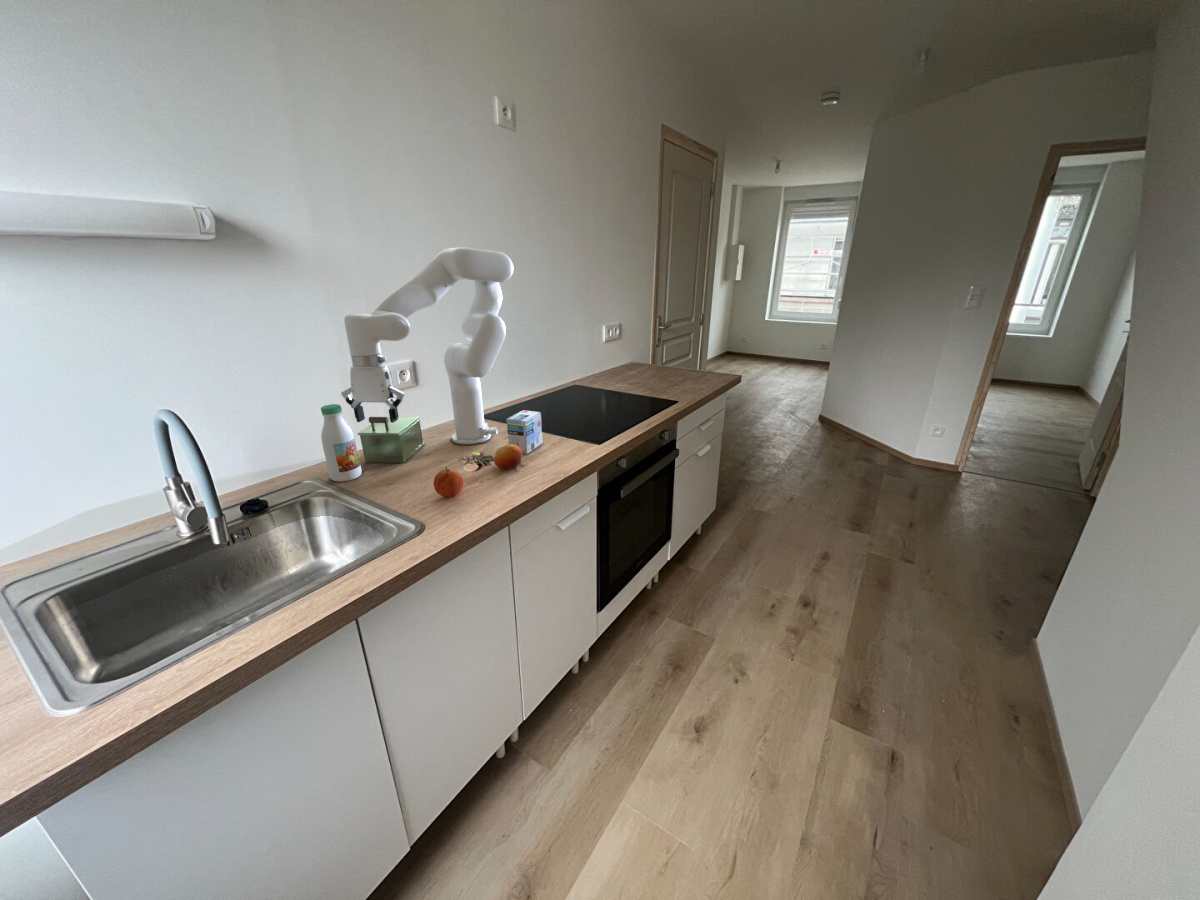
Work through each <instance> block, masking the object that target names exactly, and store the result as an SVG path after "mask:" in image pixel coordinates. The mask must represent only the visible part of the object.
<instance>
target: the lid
mask: <svg viewBox="0 0 1200 900" xmlns="http://www.w3.org/2000/svg"><path fill="white" fill-rule="evenodd" d="M418 420H420V416H398V420H397V421H395V422H394V423H391V422H390V416H369V417H368V423H370V425H368V426H366V427H365V428H363V429H362V430H360V431H359V432H357V435H358V436H360V435H399V434H401V433H402V432H403V431H405V430H406V429H407V428H409V427H410V426H411V425H413V424H414V423H415V422H416V421H418Z"/></svg>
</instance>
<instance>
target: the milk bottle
mask: <svg viewBox="0 0 1200 900" xmlns="http://www.w3.org/2000/svg"><path fill="white" fill-rule="evenodd" d="M320 411H321V414H322V415H321V416H322V417H323V425H322V429H321V435H320V440H321V445H322V448H323V454H324V457H325V462H326V466H327V471H328V474H329V478H330V479H331V480H332V481H333V482H347V481H348V482H349V481H352V480H354V479H356V478H359V477H360V476H361V475H362V473H363V471H362V467H361V466H362V465H361V461H360V456H359V450H358V447H357V442H356V439H355V435H354V432H353V430H352V428H351V427H350V426H349V425H348V423H347V422H346V420H345V419H344V417H343V409H342V406H341V405H340V404H338V403H337V404H336V403H333V404H326V405H323V406H321V407H320Z"/></svg>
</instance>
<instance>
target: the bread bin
mask: <svg viewBox="0 0 1200 900" xmlns="http://www.w3.org/2000/svg"><path fill="white" fill-rule="evenodd" d="M359 438H360V443H361V448H362V451H363V456H364V462H365V463H366V464H367V463H371V464H372V463H373V464H376V463H380V464H381V463H383V464H388V463H389V464H391V463H392V464H400V463H401V464H405V463H406V462H407V461H408V460H409V459H411V457H412V456H414V455H415V454H416V453H417V452H418V451H419V450H420V449H421V448H422V447H424V440H423V439H424V438H423V432H422V427H421V420H420V419H419V420H418V421H416V422H415V423H414V424H413V425H411V426H410V427H409V428H407V429H406V430H405V431H403V432H402V433H401V434H399V435H359Z"/></svg>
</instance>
